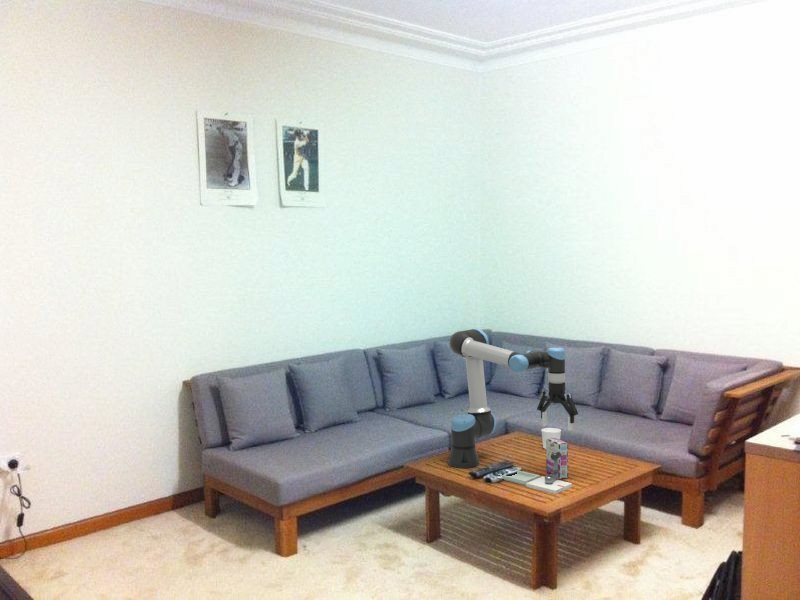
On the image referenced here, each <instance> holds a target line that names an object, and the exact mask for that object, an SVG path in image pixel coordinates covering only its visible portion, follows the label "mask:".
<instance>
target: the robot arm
mask: <svg viewBox="0 0 800 600" xmlns="http://www.w3.org/2000/svg"><path fill="white" fill-rule="evenodd" d="M448 342H449V343H448V345H449V348H450V350H451V352H452V353H454V354H455V355H457V356H460V357H461V356H462V358H463V360H464V361H465V367H466V379H467V387H468V398H469V399H468V400H469V406H470V407H469V408H468V410H467V413H463V414H458V415H455V416H453V417H452V419H451V421H450V422H451V423H450V428H451V430H450V431H451V432H450V434H451V435H450V436H451V440H450V441H451V442H450V443H451V448H450V453H449V455H448V459H447V464H448V465H449V466H450V467H454V468H458V469H470V468H476V467H478V466H480V458H479V456H478V452H477V450H476V449H477V447H476V440H479V439H482V438H486V437H488V436H490V435H492V434H494V432H495V431H496V428H497V418H496V416H495V415H494V414H493V413H492V410H491V408H490V407H489V406H488V401H487V400H488V399H487V391H486V390H487V389H486V377H485V369H484V361H487V362H491V363H494V364H497V365H500V366H503V367H507V368H510V369H511V370H512V371H513V372H516V373H517V372H519V373H520V372H521V373H522V372H524V371H528V370H533V369H536V368H541V369H547V371H548V373H547V375H548V376H547V377H548V384H547V385H548V390H544V391H542V396H541V398H540V401H539V403H538V405H537V408H536V410H537V411H540V419H541V420H542V423H541V424H542V425H541V427H546V426H548V411H547V409H548V408H549V407H550V405H551V404H552V403H557V404H558V403H559V404H561V405H562V407H563V408H564V410H565V411H566V412H567V414H568V415H567V431H573V430H574V425H573V424H574V423H575V416H577V415H579V411H578V409H577V407H576V404H575V402H574V400H573V394H572V393H566V392H565V391H566V382H565V381H566V352H565V349H564V347H563V348H562V347H550V348H548V349H547V351H542V350H527V351H526V352H525V353H520V352H516V351H514V350H510V349H506V348H502V347H498V346H495V345H491V344H490V343H489V337H488V335H487V333H485V332H484V331H483V329H478V328H475V329H474V328H472V329H467V330H466V329H465V330H460V331H456V332H454V333H453V334H452V335H451V336H450V339H449V341H448ZM548 396H549V397H548ZM547 398H548V399H547ZM546 400H547V401H546Z"/></svg>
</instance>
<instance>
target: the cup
mask: <svg viewBox="0 0 800 600" xmlns="http://www.w3.org/2000/svg"><path fill="white" fill-rule="evenodd" d="M540 431H541V439H542V449H543V448H545V449H546V439H548V438H557V439H559V440H561V435H562V430H561V429H560V428H557V427H556V428H555V427H543V428H541V429H540ZM545 449H544V450H545Z"/></svg>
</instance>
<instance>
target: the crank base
mask: <svg viewBox="0 0 800 600" xmlns="http://www.w3.org/2000/svg"><path fill="white" fill-rule="evenodd" d="M525 487H526V488H529V489H535V490H539V491H541V492H546V493H549V494H553V495H556V494H559V493H561V492H564V491H566V490H569V489H570V488H572V487H573V483H571V482H567V481H563V480H561V479H556V480H554V481H553V483H552V484H547V483H545V476H540V478H538V479H535V480H533V481H530V482H528V483H526V486H525Z"/></svg>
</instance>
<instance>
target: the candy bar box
mask: <svg viewBox="0 0 800 600" xmlns="http://www.w3.org/2000/svg"><path fill="white" fill-rule="evenodd" d="M568 443H569V442H566V441H564V440H561V439H560V440H559V439H557V438H548V439H546V460H545V461H546V463H545V464H546V465H545V466H546V469H545V470H546V474H548V475H550V474H552V473H554V460H552V459H551V455H552V454H554V453H556V452H560V453H561V457H560V458H558V479H557V480H564V479H568V478H569V444H568Z"/></svg>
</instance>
